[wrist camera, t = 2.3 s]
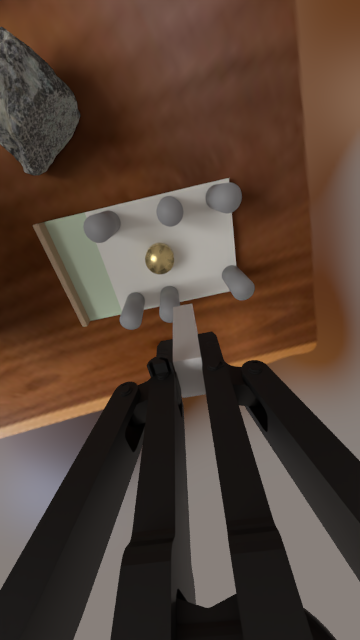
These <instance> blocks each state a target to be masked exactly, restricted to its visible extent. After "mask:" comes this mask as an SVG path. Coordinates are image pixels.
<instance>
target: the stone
mask: <svg viewBox="0 0 360 640" xmlns="http://www.w3.org/2000/svg"><path fill="white" fill-rule="evenodd" d="M79 118H80V112H79V110H78V108H77V101H76V99H75V96H74V93H73V92H72V91H71V90H70V88H69V87H68V86H67V85H66V83H64V82H63V81H62V80H61V79H60V78H59V77H57V76H56V74H55V72H54V71H53V69H52V68H51V67H50V66H49V65H48V64H47V63H46V62H45V61H44V60H43V59H42V58H41V57H40V56H39V55H37V54H36V53H35V52H34V51H33V50H32V49H31V48H30V47H29V46H27V45H26V44H25V43H24V42H22V41H20V40H19V39H18V38H16V37H15V36H13V35H12V34H11V33H10V32H8V31H7V30H6V29H4V28H3V27H0V144H1V145H2V146H3V147H4V148H5V149H6V150H8V151H9V152H10V153H11V154H12V155H14V157H15V158H16V160H18V161H19V162H20V163H21V165H22V166H23V168H24V172H25V173H28V174H31V175H41V174H42V173H44V172H46V171H47V169H48V168H49V166H50V164H52V163H53V161H54V159H55V157H56V155H57V154H58V153H59V152H60V151H61V150H62V149H63V148H64V147H65V145H66V144H67V143H68V142H69V140H70V139H71V137H72V136H73V134H74V131H75V128H76V126H77V124H78V122H79Z"/></svg>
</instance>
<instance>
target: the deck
mask: <svg viewBox="0 0 360 640" xmlns="http://www.w3.org/2000/svg"><path fill="white" fill-rule="evenodd" d="M241 200H242V193H241V190H240V188H239V187H238V186H237V185H236V184H234V183H229V178H226V179H222V180H218V181H214V182H209V183H205V184H201V185H197V186H193V187H189V188H184V189H180V190H176V191H172V192H168V193H164V194H159V195H155V196H151V197H147V198H143V199H139V200H134V201H130V202H126V203H122V204H118V205H113V206H109V207H105V208H101V209H97V210H93V211H88V212H84V213H80V214H76V215H72V216H68V217H63V218H59V219H55V220H51V221H47V222H42V223H38V224H34V225H32V226H33V228H34V230H35V232H36V234H37V236H38V238H39V240H40V242H41V244H42V246H43V248H44V250H45V252H46V254H47V256H48V258H49V260H50V262H51V264H52V266H53V268H54V270H55V272H56V274H57V276H58V278H59V280H60V282H61V284H62V286H63V288H64V290H65V292H66V294H67V296H68V298H69V300H70V302H71V304H72V306H73V308H74V310H75V312H76V314H77V316H78V318H79V320H80V322H81V324H82V326H83V327H86V326H88V324H89V322H90V321H92V320H97V319H101V318H106V317H111V316H115V315H120V314H121V316H120V323H121V325H122V326H123V327H124V328H126V329H131V330H132V329H136V328H138V327H139V326H140V325H141V321H142V316H143V310H145V309H149V308H154V307H159V306H160V311H159V314H160V317H161V319H162V320H163V321H165V322H169V323H171V322H173V307H177V306H180V302H182V301H187V300H191V299H196V298H201V297H205V296H210V295H215V294H219V293H224V292H229V291H231V293H232V294H233V296H234V297H235V298H236V299H238V300H246V299H248V298H250V297H251V296H252V295H253V293H254V290H255V287H254V284H253V282H252V281H251V280H250V279H249V278H248V277H247V276H246V275H245V274H244V273H243V272H242V271H241V270H240V269H239V268H238V267H237V266H236V256H235V245H234V233H233V221H232V212H234V211H235V210H236V209H237V208H238V207H239V205H240V203H241ZM155 243H164V244H166V245H168V246H169V247H170V248H171V249H172V251H173V255H174V265H173V267H172V269H171V270H170V271H169V272H167V273H165V274H155V273H153V272H151V271H150V270H149V269H148V268H147V266H146V263H145V256H146V253H147V250H148V248H149V247H150V246H151V245H153V244H155Z"/></svg>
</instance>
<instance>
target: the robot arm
mask: <svg viewBox="0 0 360 640" xmlns="http://www.w3.org/2000/svg"><path fill="white" fill-rule="evenodd" d="M156 356H157V357H155V358H153V359H151V360H150V361H149V362H148V364H147V368H148V370H149V373H150V376H151V379H149V380H148V381H147V382H145V383H142V384H140V385H138V386H137V384H136V383H134V382H126V383H123V384H121V385H120V386H118V387H117V388H116V390H115V391H114V393H113V395H112V396H111V398H110V400H109V401H108V403H107V405H106V407H105V408H104V410H103V412H102V414H101V415H100V417H99V419H98V421H97V423H96V424H95V426H94V428H93V429H92V431H91V433H90V435H89V436H88V438H87V440H86V442H85V444H84V445H83V447H82V449H81V450H80V452H79V454H78V456H77V457H76V459H75V461H74V463H73V464H72V466H71V468H70V469H69V471H68V473H67V475H66V477H65V478H64V480H63V482H62V483H61V485H60V487H59V489H58V490H57V492H56V494H55V496H54V498H53V499H52V501H51V503H50V504H49V506H48V508H47V510H46V512H45V513H44V515H43V517H42V518H41V520H40V522H39V524H38V525H37V527H36V529H35V531H34V532H33V534H32V536H31V538H30V539H29V541H28V543H27V545H26V546H25V548H24V550H23V551H22V553H21V555H20V557H19V558H18V560H17V562H16V564H15V565H14V567H13V569H12V571H11V572H10V574H9V576H8V578H7V579H6V581H5V583H4V585H3V587H2V588H1V590H0V640H73V639H74V636H75V633H76V631H77V628H78V626H79V623H80V620H81V618H82V615H83V612H84V610H85V607H86V603H87V601H88V598H89V595H90V593H91V590H92V586H93V584H94V581H95V578H96V576H97V573H98V569H99V567H100V564H101V561H102V558H103V556H104V553H105V550H106V547H107V544H108V541H109V539H110V536H111V533H112V530H113V527H114V524H115V522H116V518H117V516H118V513H119V510H120V507H121V504H122V502H123V499H124V496H125V493H126V490H127V487H128V485H129V482H130V479H131V476H132V473H133V471H134V468H135V465H136V462H137V459H138V456H139V454H140V451H141V448H142V445H143V448H142V455H141V463H140V473H139V481H138V488H137V497H136V505H135V513H134V522H133V530H132V537H131V540H130V543H129V544H128V545H127V547H126V548H125V551H124V554H123V557H122V563H121V569H120V575H119V583H118V590H117V596H116V605H115V611H114V618H113V626H112V632H111V640H336V639H335V637H334V636H333V635H332V634H331V633H330V632H329V630H328V629H327V628H326V627H325V626H324V625H323V624H322V623H321V622H320V621H319V620H318V619H317V618H316V617H314V616H313V615H312V614H311V613H310V612H308V611H307V610H306V609H304V608H303V605H302V602H301V599H300V596H299V593H298V589H297V586H296V583H295V580H294V576H293V573H292V570H291V567H290V564H289V561H288V557H287V554H286V551H285V547H284V544H283V542H282V539H281V536H280V534H279V531H278V529H277V528H276V526H275V523H274V521H273V518H272V514H271V511H270V508H269V505H268V501H267V498H266V494H265V491H264V488H263V484H262V481H261V478H260V475H259V471H258V468H257V465H256V462H255V458H254V455H253V452H252V448H251V445H250V441H249V438H248V435H247V431H246V428H245V425H244V422H243V418H242V415H241V412H240V408H239V405H242V406H245V407H246V409H247V411H248V412H249V414H250V415H251V416H252V418H253V420H254V421H255V423H256V424H257V426H258V427H259V429H260V430H261V432H262V434H263V435H264V437H265V438H266V440H267V441H268V443H269V444H270V446H271V447H272V449H273V450H274V452H275V453H276V455H277V456H278V458H279V459H280V461H281V462H282V464H283V465H284V467H285V468H286V470H287V472H288V473H289V475H290V476H291V478H292V479H293V480H294V482H295V484H296V485H297V487H298V488H299V490H300V491H301V493H302V494H303V496H304V497H305V499H306V500H307V502H308V503H309V505H310V506H311V508H312V510H313V511H314V512H315V514H316V515H317V517H318V518H319V520H320V522H321V523H322V525H323V526H324V527H325V529H326V531H327V532H328V534H329V535H330V537H331V538H332V540H333V541H334V543H335V544H336V546H337V548H338V549H339V550H340V552H341V554H342V555H343V557H344V558H345V560H346V561H347V563H348V564H349V566H350V567H351V569H352V570H353V572H354V573H355V575H356V576H357V578H358V580H359V581H360V461H359V460H358V459H357V458H356V457H355V456H354V455H353V454H352V453H351V451H349V449H348V448H347V447H345V445H344V444H343V443H342V442H341V441H340V440H339V439H338V438H337V437H336V436H335V435H334V434H333V433H332V432H331V431H330V430H329V429H328V428H327V427H326V426H325V425H324V424H323V423H322V422H321V421H320V419H318V417H317V416H316V415H314V414H313V412H312V411H311V410H310V409H309V408H308V407H307V406H306V405H305V404H304V403H303V402H302V401H301V400H300V399H299V398H298V397H297V396H296V395H295V394H294V393H293V392H292V391H291V390H290V389H289V388H288V386H287V385H286V384H285V383H284V382H283V381H281V379H280V378H279V377H278V376H277V375H276V374H275V373H274V372H273V371H272V370H271V369H270V368H269V367H268V366H267V365H266V364H265V363H263V362H261V361H257V360H252V361H248V362H246V363H244V364H243V365H242V367H235V366H231V365H229V364H227V363H226V362H225V361H224V359H223V356H222V353H221V349H220V346H219V343H218V339H217V336H216V335H215V334H214V333H213V332H207V333H202V334H198V332H197V327H196V322H195V317H194V311H193V306H192V304H187V305H182V306H177V307H173V339H171V340H166V341H161V342H160V343H159V345H158V346H157V355H156ZM181 394H182V397H183V398H184V397H191V396H197V395H203V394H206V397H207V404H208V410H209V416H210V423H211V429H212V436H213V442H214V447H215V455H216V461H217V467H218V473H219V480H220V487H221V492H222V499H223V505H224V512H225V518H226V525H227V532H228V541H229V548H230V555H231V561H232V568H233V574H234V580H235V587H236V593H237V594H235V595H233V596H231V597H229V598H227V599H226V600H224V601H222V602H220V603H218V604H216V605H215V606H213V607H210V608H204V607H202V606H199V605H196V600H195V588H194V579H193V573H192V567H191V552H190V531H189V511H188V491H187V470H186V450H185V429H184V410H183V403H182V397H181Z"/></svg>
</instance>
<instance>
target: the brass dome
mask: <svg viewBox="0 0 360 640" xmlns="http://www.w3.org/2000/svg"><path fill="white" fill-rule="evenodd" d="M145 263H146V266H147V268H148V269H149V270H150V271H151V272H153V273H155V274H165V273H167V272H169V271H170V270H171V269H172V267H173V265H174V255H173V251H172V249H171V248H170V247H169V246H168V245H166V244H164V243H155V244H153V245H151V246H150V247H149V248H148V250H147V253H146V256H145Z"/></svg>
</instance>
